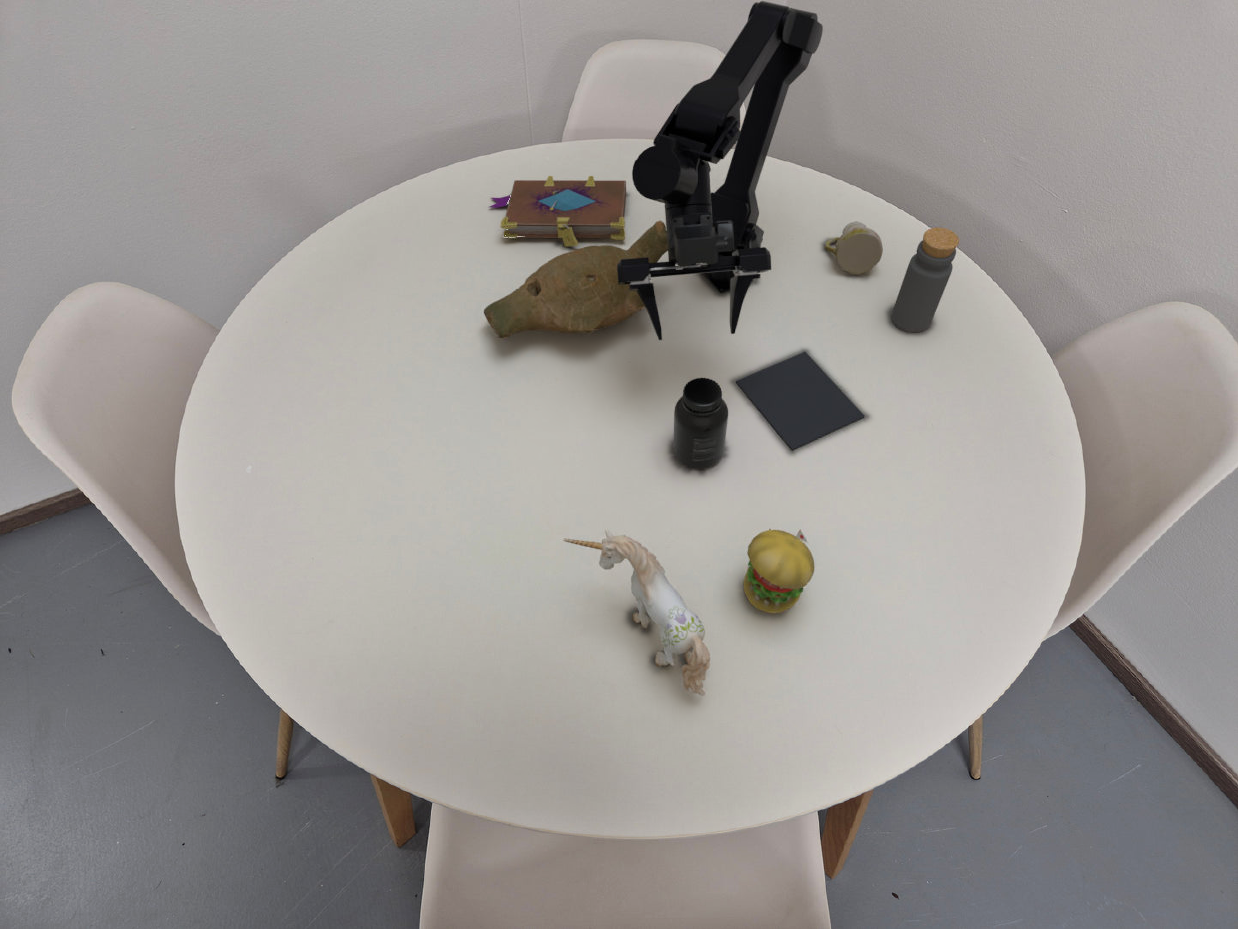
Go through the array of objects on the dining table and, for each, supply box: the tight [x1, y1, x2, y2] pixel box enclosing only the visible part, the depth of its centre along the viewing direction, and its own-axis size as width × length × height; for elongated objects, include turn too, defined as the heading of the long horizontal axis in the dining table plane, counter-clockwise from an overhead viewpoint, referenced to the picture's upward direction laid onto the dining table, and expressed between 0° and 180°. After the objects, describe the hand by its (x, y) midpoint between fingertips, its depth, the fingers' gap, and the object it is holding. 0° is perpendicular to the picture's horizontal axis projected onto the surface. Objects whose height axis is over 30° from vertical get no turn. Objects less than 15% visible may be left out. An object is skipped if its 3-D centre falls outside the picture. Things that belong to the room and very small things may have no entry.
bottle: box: [891, 227, 960, 333], centre depth 110 cm, size 6×6×15 cm
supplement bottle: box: [673, 377, 729, 470], centre depth 98 cm, size 7×7×12 cm
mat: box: [735, 351, 865, 451], centre depth 107 cm, size 14×12×1 cm
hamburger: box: [742, 528, 815, 614], centre depth 86 cm, size 8×7×12 cm
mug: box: [824, 221, 884, 275], centre depth 122 cm, size 8×10×10 cm
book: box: [488, 175, 627, 247], centre depth 131 cm, size 16×25×5 cm, turn 87°
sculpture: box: [483, 220, 668, 340], centre depth 115 cm, size 14×16×30 cm
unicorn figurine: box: [562, 529, 711, 697], centre depth 83 cm, size 7×20×13 cm, turn 46°
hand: (696, 336), depth 97 cm, fingers open, 9 cm apart
